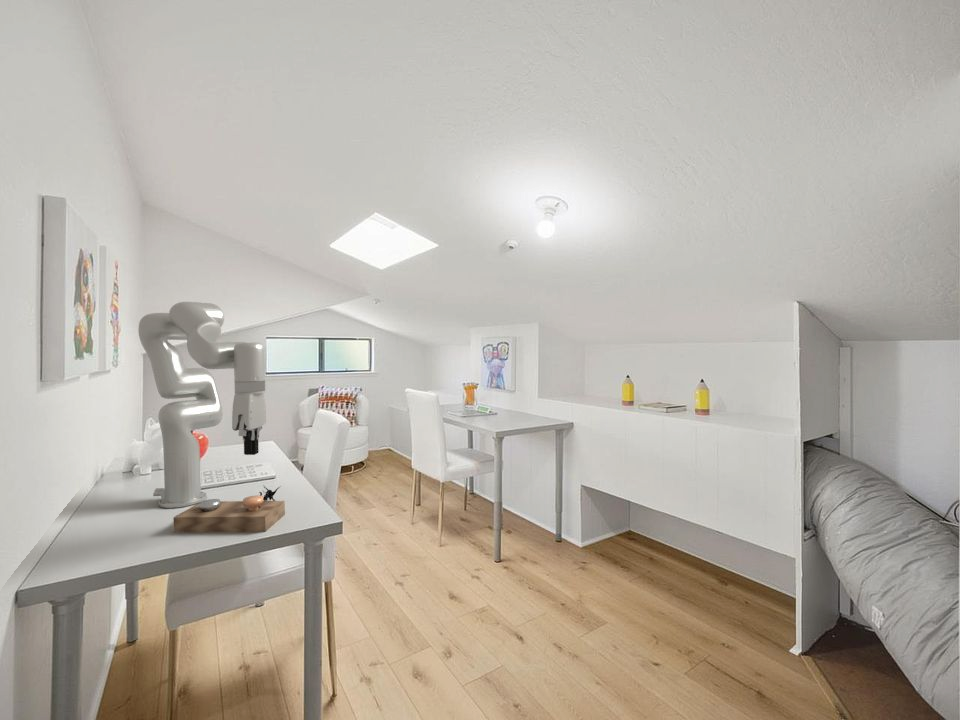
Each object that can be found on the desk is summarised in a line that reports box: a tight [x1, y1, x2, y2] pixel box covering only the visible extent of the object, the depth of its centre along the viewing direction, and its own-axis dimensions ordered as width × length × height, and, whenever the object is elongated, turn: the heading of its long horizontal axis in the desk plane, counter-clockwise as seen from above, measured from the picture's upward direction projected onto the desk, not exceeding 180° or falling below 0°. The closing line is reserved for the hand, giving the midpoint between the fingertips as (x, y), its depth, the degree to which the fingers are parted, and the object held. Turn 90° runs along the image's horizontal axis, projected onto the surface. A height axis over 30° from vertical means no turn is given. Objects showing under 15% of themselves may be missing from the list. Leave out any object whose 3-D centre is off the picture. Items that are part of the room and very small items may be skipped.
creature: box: [258, 485, 282, 501], centre depth 141 cm, size 8×5×8 cm
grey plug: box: [199, 498, 221, 511], centre depth 125 cm, size 5×5×5 cm
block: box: [172, 500, 286, 533], centre depth 125 cm, size 24×12×4 cm, turn 90°
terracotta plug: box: [242, 494, 264, 511], centre depth 125 cm, size 5×5×5 cm
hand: (251, 453), depth 125 cm, fingers closed
